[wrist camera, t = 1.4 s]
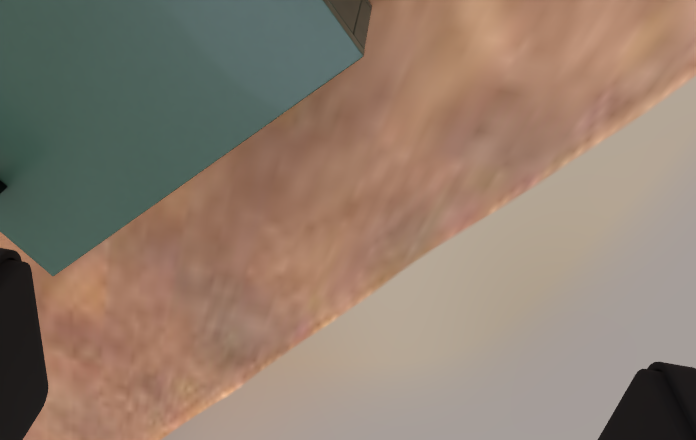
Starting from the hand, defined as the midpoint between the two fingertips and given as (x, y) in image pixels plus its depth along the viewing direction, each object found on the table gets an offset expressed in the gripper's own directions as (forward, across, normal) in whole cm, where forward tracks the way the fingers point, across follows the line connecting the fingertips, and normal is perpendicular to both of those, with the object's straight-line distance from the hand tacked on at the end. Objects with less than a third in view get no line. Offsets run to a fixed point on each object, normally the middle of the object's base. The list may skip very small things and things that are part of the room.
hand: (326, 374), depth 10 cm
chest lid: (+18, +12, +2) cm, 22 cm away
